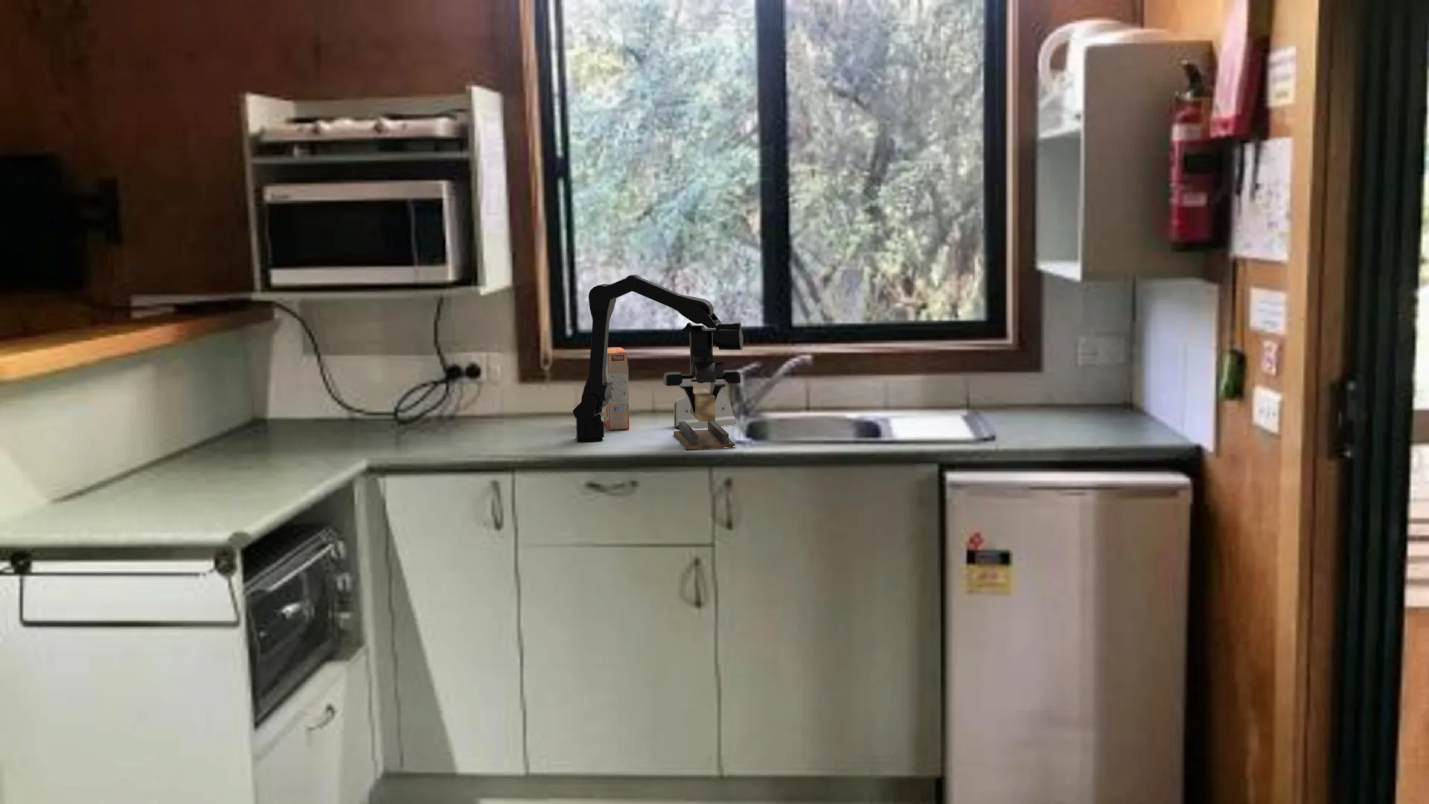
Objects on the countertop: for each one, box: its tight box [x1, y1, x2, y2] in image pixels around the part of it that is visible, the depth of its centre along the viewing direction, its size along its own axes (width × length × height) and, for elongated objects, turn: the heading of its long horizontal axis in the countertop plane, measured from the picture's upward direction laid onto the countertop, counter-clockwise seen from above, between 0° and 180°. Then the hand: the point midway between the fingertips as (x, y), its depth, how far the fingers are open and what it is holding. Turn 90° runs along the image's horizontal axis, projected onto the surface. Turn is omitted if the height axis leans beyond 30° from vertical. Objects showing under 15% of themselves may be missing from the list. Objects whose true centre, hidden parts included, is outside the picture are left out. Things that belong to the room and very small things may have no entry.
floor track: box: [673, 421, 736, 450], centre depth 335 cm, size 12×22×4 cm, turn 10°
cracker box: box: [602, 346, 630, 431], centre depth 359 cm, size 14×6×21 cm, turn 10°
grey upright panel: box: [673, 393, 737, 429], centre depth 359 cm, size 17×5×10 cm, turn 111°
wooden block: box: [690, 388, 715, 422], centre depth 334 cm, size 4×14×6 cm, turn 10°
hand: (702, 411), depth 335 cm, fingers closed on wooden block, 4 cm apart
